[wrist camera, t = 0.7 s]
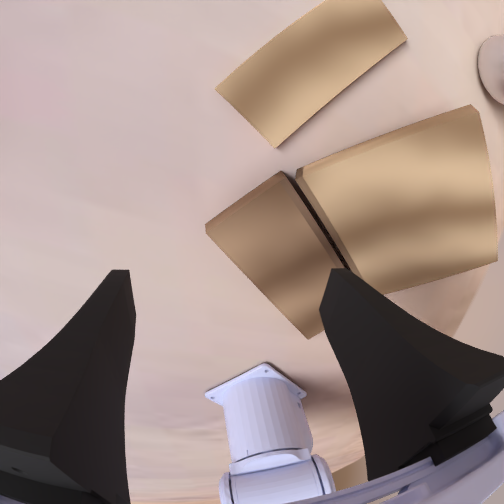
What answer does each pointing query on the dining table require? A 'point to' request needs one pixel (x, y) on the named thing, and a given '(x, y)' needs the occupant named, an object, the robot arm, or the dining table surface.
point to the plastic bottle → (492, 66)
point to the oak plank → (409, 201)
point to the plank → (310, 64)
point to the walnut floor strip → (279, 250)
